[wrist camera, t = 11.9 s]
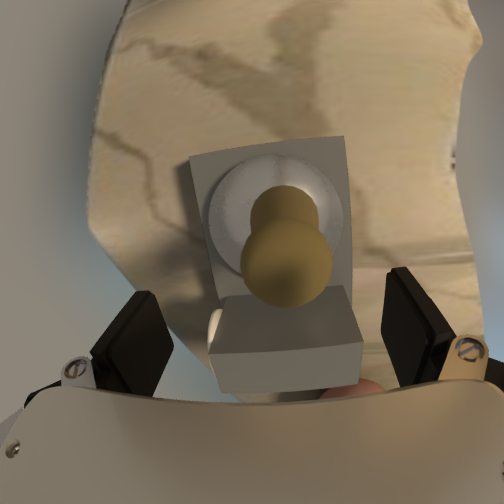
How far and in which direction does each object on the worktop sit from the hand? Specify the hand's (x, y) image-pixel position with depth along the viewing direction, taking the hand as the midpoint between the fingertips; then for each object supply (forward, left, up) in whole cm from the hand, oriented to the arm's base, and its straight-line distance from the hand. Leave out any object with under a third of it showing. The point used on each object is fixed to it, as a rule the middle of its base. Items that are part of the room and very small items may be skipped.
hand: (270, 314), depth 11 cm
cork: (0, +1, -15) cm, 15 cm away
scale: (+4, 0, -19) cm, 19 cm away
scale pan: (+1, 0, -16) cm, 16 cm away
